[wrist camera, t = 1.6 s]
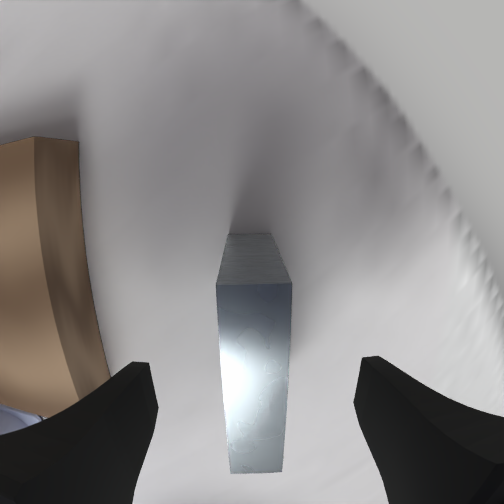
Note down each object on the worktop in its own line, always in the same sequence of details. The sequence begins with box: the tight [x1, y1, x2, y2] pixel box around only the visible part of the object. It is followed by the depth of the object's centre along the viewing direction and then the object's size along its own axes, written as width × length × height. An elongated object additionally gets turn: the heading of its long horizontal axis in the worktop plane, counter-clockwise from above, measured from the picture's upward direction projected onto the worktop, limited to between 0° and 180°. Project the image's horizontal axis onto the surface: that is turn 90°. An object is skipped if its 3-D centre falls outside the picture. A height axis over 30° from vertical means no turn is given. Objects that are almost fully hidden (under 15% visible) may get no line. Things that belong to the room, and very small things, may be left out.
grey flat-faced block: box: [216, 234, 292, 474], centre depth 13 cm, size 8×2×7 cm, turn 1°
